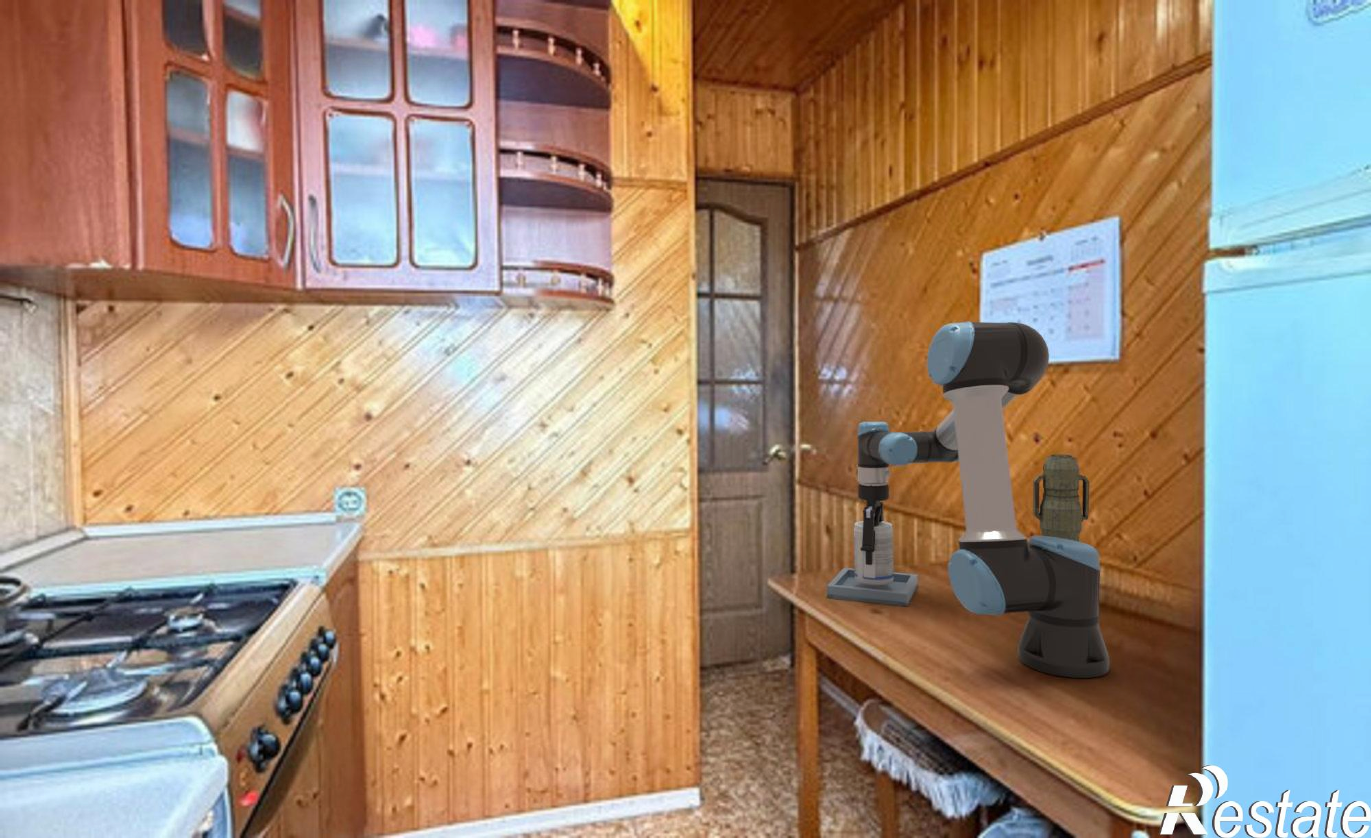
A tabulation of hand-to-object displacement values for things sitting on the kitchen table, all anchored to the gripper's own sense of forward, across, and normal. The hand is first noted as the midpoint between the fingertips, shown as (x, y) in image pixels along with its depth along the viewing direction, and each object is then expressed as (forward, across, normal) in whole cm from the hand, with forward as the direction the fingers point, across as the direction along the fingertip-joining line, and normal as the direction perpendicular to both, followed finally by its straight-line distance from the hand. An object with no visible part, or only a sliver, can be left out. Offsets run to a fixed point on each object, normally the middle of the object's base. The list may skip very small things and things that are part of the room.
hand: (873, 572), depth 185 cm
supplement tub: (+3, 0, 0) cm, 3 cm away
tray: (+5, 0, 0) cm, 5 cm away
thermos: (+5, +7, -42) cm, 43 cm away
